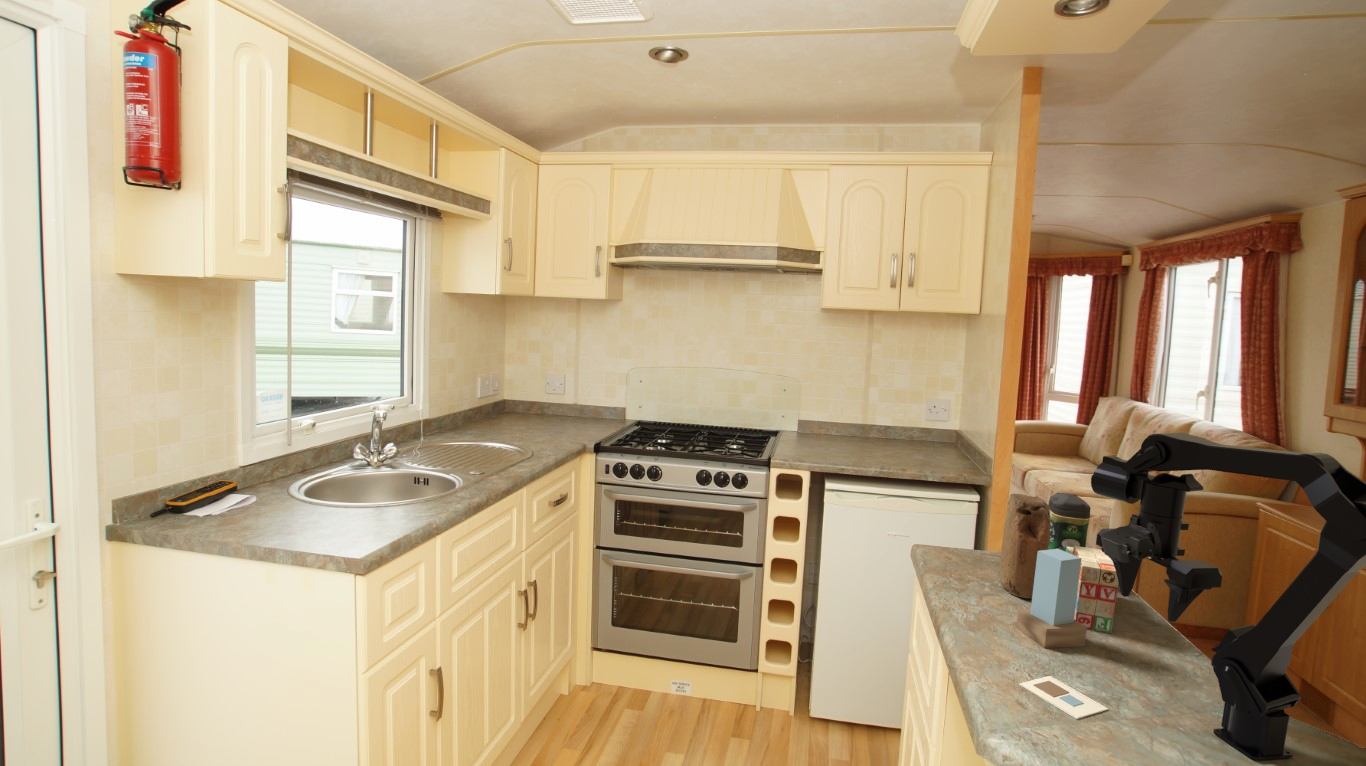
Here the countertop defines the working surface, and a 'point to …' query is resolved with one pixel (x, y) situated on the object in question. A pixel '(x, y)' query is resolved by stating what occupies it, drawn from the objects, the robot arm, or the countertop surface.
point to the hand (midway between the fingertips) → (1147, 608)
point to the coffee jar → (1068, 521)
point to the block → (1023, 543)
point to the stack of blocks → (1095, 589)
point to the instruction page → (1063, 697)
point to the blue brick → (1055, 586)
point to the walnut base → (1051, 631)
